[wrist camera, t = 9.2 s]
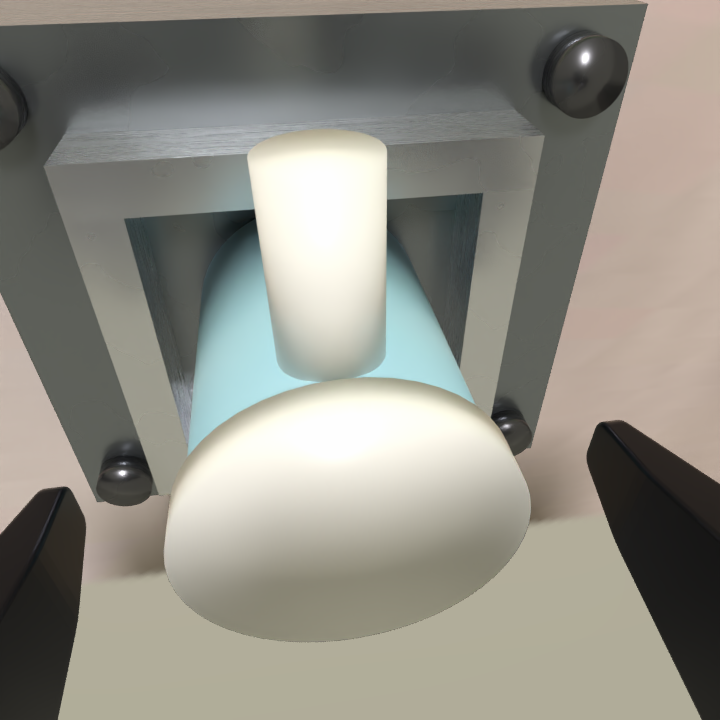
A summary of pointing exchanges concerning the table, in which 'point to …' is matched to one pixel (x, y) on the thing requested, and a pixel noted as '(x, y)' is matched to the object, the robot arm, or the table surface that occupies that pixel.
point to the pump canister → (331, 420)
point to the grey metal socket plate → (234, 192)
